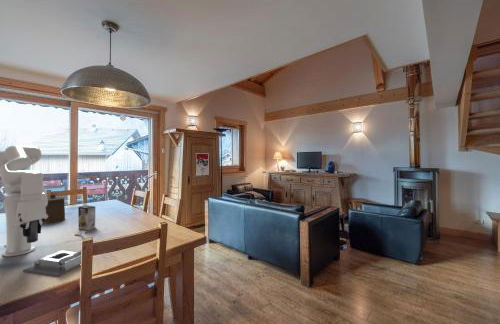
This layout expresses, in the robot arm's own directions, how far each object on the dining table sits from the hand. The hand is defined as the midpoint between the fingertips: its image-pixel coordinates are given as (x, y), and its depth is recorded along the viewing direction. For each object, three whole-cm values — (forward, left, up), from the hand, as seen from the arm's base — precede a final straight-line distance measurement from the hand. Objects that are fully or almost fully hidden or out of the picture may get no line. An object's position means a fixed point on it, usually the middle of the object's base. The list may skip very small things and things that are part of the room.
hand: (32, 234), depth 110 cm
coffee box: (-24, +52, -15) cm, 59 cm away
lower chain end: (+13, +2, -14) cm, 19 cm away
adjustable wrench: (-10, +36, -16) cm, 40 cm away
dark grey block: (0, 0, -3) cm, 3 cm away
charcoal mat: (+14, +2, -15) cm, 20 cm away
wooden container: (-68, +62, -15) cm, 93 cm away
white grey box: (+16, +2, -14) cm, 21 cm away
